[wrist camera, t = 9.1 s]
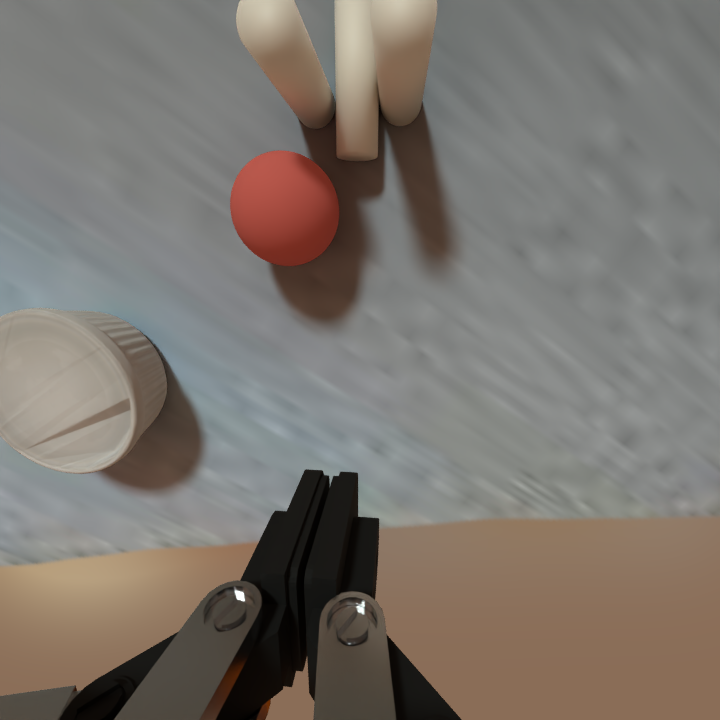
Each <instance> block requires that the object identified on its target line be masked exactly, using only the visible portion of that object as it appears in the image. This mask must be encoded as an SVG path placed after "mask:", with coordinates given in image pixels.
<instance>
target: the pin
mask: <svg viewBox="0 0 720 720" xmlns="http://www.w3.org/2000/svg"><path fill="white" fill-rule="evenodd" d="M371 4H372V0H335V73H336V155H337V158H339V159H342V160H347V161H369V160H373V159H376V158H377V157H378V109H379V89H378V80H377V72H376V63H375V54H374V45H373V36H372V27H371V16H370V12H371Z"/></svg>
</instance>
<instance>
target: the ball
mask: <svg viewBox="0 0 720 720" xmlns="http://www.w3.org/2000/svg"><path fill="white" fill-rule="evenodd" d="M230 209H231V216H232V220H233V224H234V226H235V229H236V231H237V233H238V235H239V237H240V238H241V240H242V241H243V243H244V244H245V245H246V246H247V247H248V248H249V249H250V250H251V251H252V252H253V253H254V254H256V255H257V256H258V257H260V258H262V259H263V260H265V261H267V262H270V263H273V264H277V265H282V266H296V265H301V264H304V263H307V262H310V261H312V260H313V259H315V258H317V257H318V256H319V255H321V254H322V253H323V252H324V251H325V250H326V249H327V247H328V246H329V245H330V243H331V242H332V240H333V238H334V236H335V233H336V231H337V227H338V222H339V203H338V198H337V194H336V192H335V189H334V186H333V185H332V183H331V181H330V179H329V178H328V176H327V175H326V173H325V172H324V171H323V170H322V169H321V168H320V167H319V166H318V165H317V164H316V163H314V162H313V161H312V160H310V159H309V158H307V157H305V156H303V155H301V154H297V153H294V152H290V151H271V152H267V153H264V154H261V155H259V156H257V157H255V158H254V159H252V160H251V161H250V162H248V163H247V164H246V165H245V166H244V168H243V169H242V170H241V171H240V173H239V174H238V176H237V178H236V180H235V182H234V185H233V188H232V192H231V199H230Z"/></svg>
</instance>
